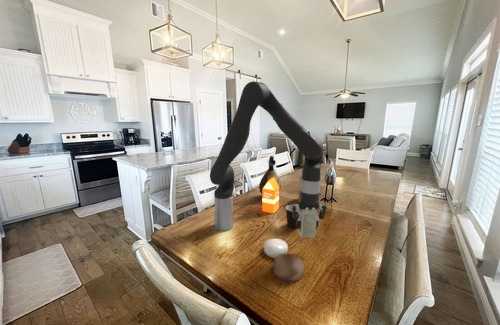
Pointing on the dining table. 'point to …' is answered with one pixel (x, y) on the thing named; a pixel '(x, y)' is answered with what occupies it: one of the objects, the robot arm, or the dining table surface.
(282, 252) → the white rounded piece
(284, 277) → the pinkish brown pedestal
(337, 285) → the dining table surface
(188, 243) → the dining table surface
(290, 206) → the coffee mug
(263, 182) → the ceramic jug
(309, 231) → the skincare box
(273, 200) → the orange juice
